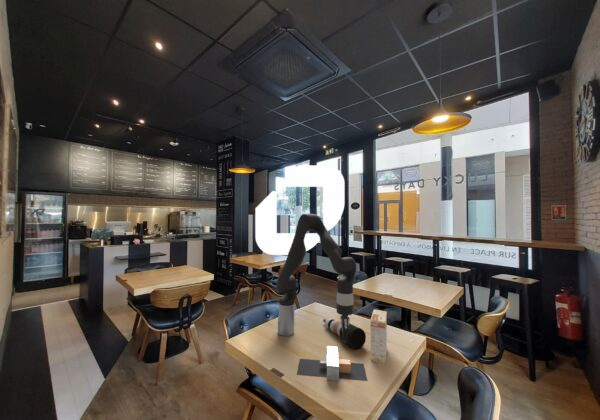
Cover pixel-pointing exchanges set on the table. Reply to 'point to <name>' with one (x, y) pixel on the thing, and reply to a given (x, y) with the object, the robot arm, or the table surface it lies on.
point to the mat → (314, 369)
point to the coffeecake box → (379, 336)
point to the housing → (332, 363)
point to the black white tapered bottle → (354, 337)
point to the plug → (343, 365)
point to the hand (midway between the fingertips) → (344, 341)
